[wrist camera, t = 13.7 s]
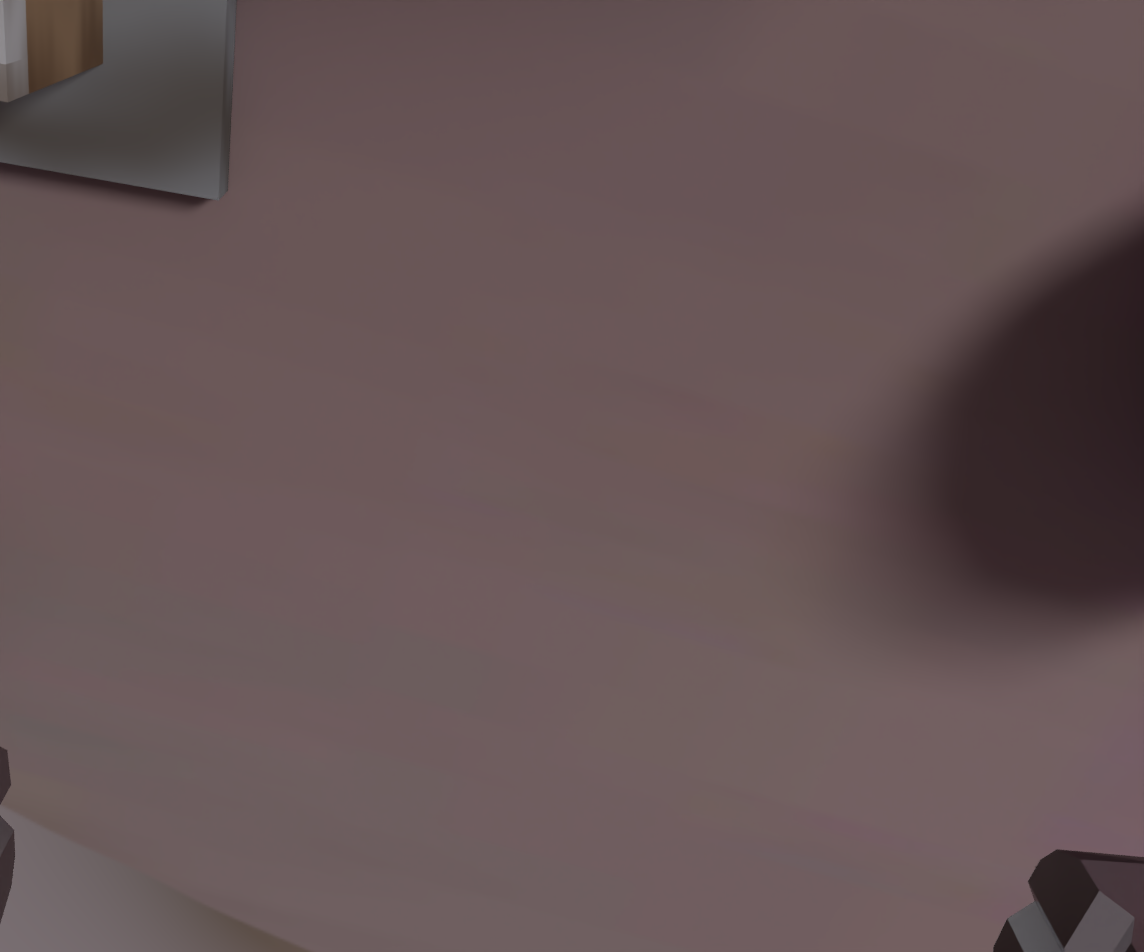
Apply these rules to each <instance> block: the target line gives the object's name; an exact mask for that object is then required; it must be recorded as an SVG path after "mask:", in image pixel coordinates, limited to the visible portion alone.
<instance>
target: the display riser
mask: <svg viewBox="0 0 1144 952" xmlns="http://www.w3.org/2000/svg"><path fill="white" fill-rule="evenodd" d="M236 2H237V0H0V162H2V163H8V164H14V165H19V166H25V167H31V168H37V169H42V170H48V171H54V172H59V173H65V174H71V175H76V176H82V177H88V178H94V179H99V180H105V181H111V182H116V183H122V184H128V185H133V186H139V187H145V188H150V189H156V190H162V191H168V192H173V193H179V194H185V195H190V196H196V197H202V198H207V199H213V200H219V199H220V198H221V197H222V196H223V195H224V194H225V193H226V192H227V191H228V173H229V151H230V130H231V109H232V87H233V66H234V45H235V23H236Z"/></svg>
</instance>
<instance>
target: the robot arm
mask: <svg viewBox="0 0 1144 952" xmlns="http://www.w3.org/2000/svg"><path fill="white" fill-rule="evenodd" d="M10 786H11V780H10V771H9V762H8V753H7V750H6V749H4V748H2V747H0V804H1V802H2V801H3V799H4V797H5V795H6V793H7V791H8V789H9V788H10ZM14 860H15V842H14V830H13V828H12V827H11V826H10V825H8V823H7V822H6V821H5V820H4V819H3V818H2V817H1V816H0V922H1V919H2V916H3V912H4V909H5V906H6V902H7V899H8V896H9V892H10V889H11V885H12V876H13V868H14ZM1028 883H1029V886H1030V889H1031V892H1032V895H1033V898H1034V902H1033V903H1031V904H1029V905H1028V906H1026V907H1025V908H1023V909H1022V910H1020V911H1018V912H1017V913H1015V914H1014V915H1012V916H1011V917H1009V918H1007V920H1006V922H1005V924H1004V926H1003V928H1002V930H1001V933H1000V935H999V937H998V939H997V941H996V943H995V945H994V947H993V952H1144V857H1137V856H1125V855H1114V854H1103V853H1092V852H1080V851H1069V850H1058V849H1057V850H1055V851H1053V852H1052V853H1050V854H1049V855H1047V856H1046V857H1044V858H1042V859H1041V860H1040V862H1039V863H1038V865H1037V867H1036V868H1035V870H1034V872H1033V874H1032V875H1031V877H1030V879H1029V880H1028Z"/></svg>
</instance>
